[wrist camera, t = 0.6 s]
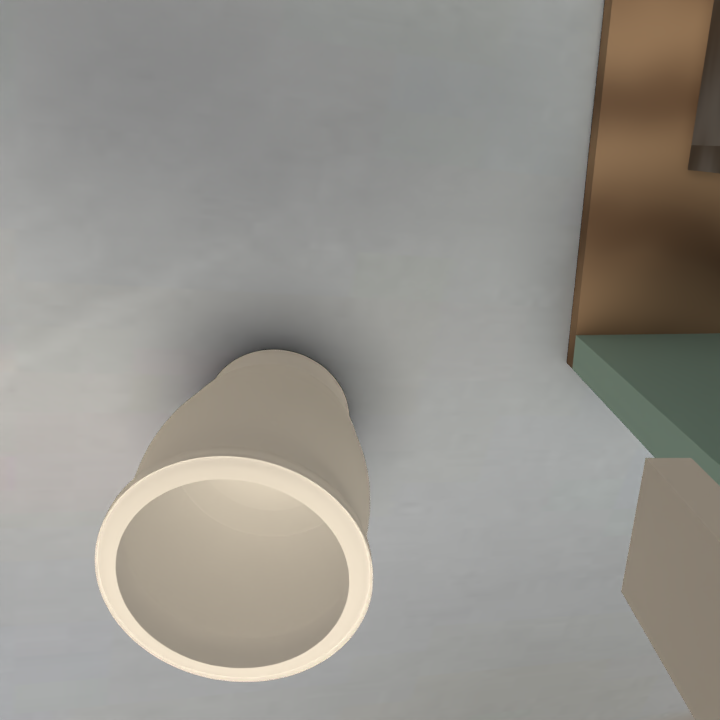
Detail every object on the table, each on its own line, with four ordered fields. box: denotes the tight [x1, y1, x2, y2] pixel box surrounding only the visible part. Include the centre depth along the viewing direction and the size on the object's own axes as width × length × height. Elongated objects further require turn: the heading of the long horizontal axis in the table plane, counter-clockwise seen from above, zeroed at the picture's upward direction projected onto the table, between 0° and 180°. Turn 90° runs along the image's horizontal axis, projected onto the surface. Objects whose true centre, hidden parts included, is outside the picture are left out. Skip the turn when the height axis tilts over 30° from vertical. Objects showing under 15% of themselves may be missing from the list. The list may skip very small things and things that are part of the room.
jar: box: [95, 350, 373, 682], centre depth 31 cm, size 11×10×15 cm
